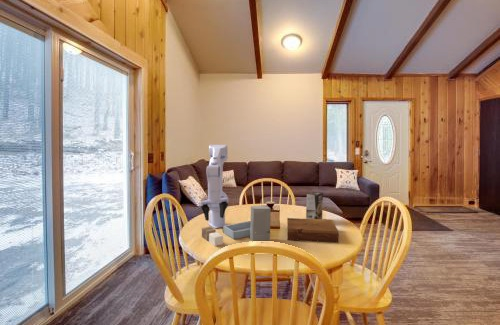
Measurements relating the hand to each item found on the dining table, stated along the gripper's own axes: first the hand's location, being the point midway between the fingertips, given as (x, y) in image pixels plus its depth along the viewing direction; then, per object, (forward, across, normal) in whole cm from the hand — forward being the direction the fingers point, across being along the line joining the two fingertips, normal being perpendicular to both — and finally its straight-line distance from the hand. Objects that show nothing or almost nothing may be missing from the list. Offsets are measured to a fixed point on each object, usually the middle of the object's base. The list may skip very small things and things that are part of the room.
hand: (214, 218), depth 131 cm
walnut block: (+10, -2, +2) cm, 10 cm away
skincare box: (+10, +17, -14) cm, 24 cm away
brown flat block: (+10, +42, -22) cm, 48 cm away
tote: (+10, +16, -1) cm, 19 cm away
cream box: (+10, -2, -6) cm, 11 cm away
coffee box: (+10, +60, -7) cm, 61 cm away
